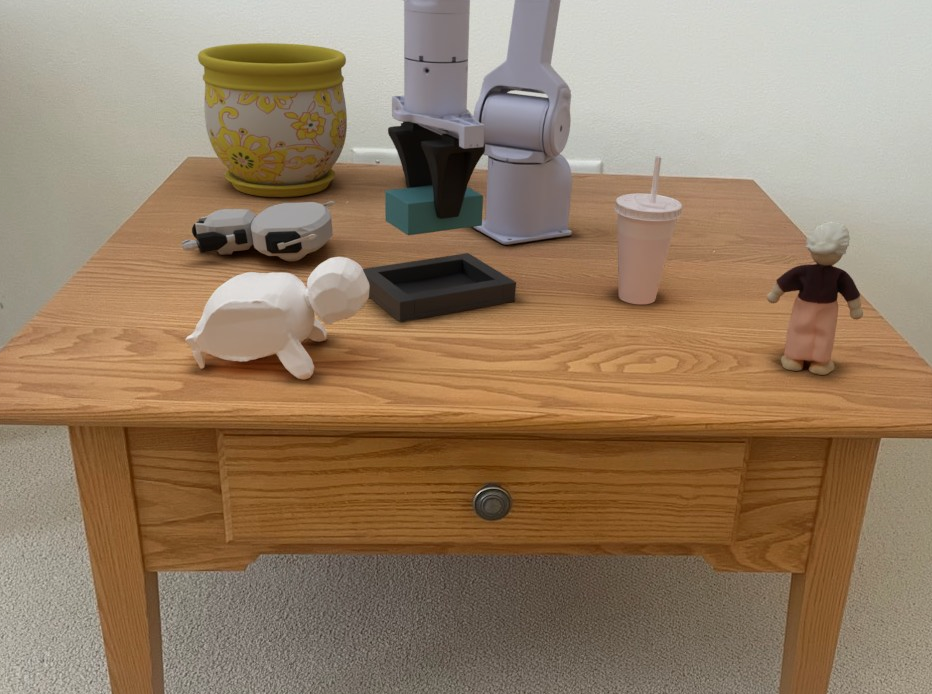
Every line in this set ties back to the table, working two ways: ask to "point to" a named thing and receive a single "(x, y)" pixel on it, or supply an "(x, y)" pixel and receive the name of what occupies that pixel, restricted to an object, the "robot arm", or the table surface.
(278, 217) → the robot toy
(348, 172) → the table surface
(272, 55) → the flowerpot
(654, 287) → the smoothie
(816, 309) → the grandmother figurine
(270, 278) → the white turtle figure
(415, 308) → the mount
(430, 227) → the teal rectangular block
